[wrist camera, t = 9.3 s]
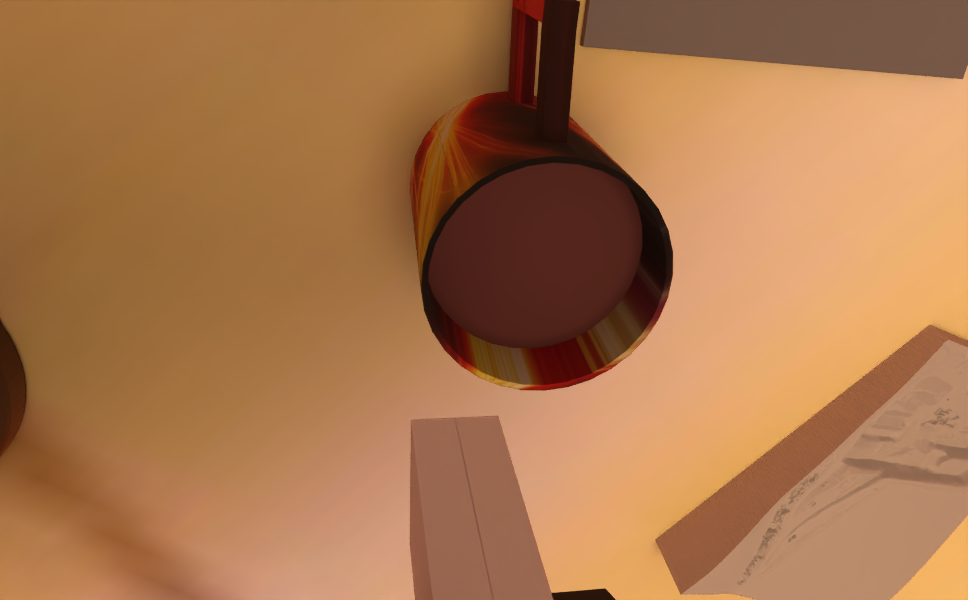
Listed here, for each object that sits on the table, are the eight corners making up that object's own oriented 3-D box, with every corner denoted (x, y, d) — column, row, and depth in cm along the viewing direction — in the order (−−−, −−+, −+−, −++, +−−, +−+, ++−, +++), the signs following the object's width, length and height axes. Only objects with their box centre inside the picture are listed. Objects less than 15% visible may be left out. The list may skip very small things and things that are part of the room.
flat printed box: (1041, 268, 47) (1117, 308, 42) (1065, 455, 54) (1134, 508, 49) (614, 460, 49) (639, 518, 44) (690, 615, 56) (719, 680, 51)
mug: (527, -29, 36) (590, -10, 25) (620, 228, 42) (702, 332, 31) (337, 59, 36) (319, 114, 26) (455, 299, 42) (481, 425, 32)
